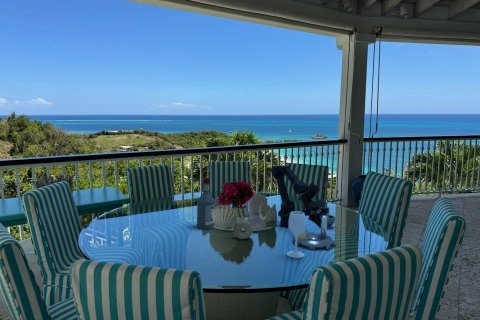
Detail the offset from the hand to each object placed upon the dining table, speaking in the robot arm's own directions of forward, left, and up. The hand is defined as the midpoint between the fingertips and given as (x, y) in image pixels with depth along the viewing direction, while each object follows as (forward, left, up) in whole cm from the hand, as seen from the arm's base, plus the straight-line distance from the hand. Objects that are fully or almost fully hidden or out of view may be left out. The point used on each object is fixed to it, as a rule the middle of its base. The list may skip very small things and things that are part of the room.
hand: (320, 226), depth 207 cm
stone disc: (-41, -10, -8) cm, 43 cm away
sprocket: (-3, -7, -8) cm, 11 cm away
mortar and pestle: (+4, +29, -8) cm, 30 cm away
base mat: (-3, -7, -8) cm, 11 cm away
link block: (-10, -9, -5) cm, 14 cm away
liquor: (-67, +4, -8) cm, 68 cm away
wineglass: (-11, -27, -8) cm, 31 cm away
